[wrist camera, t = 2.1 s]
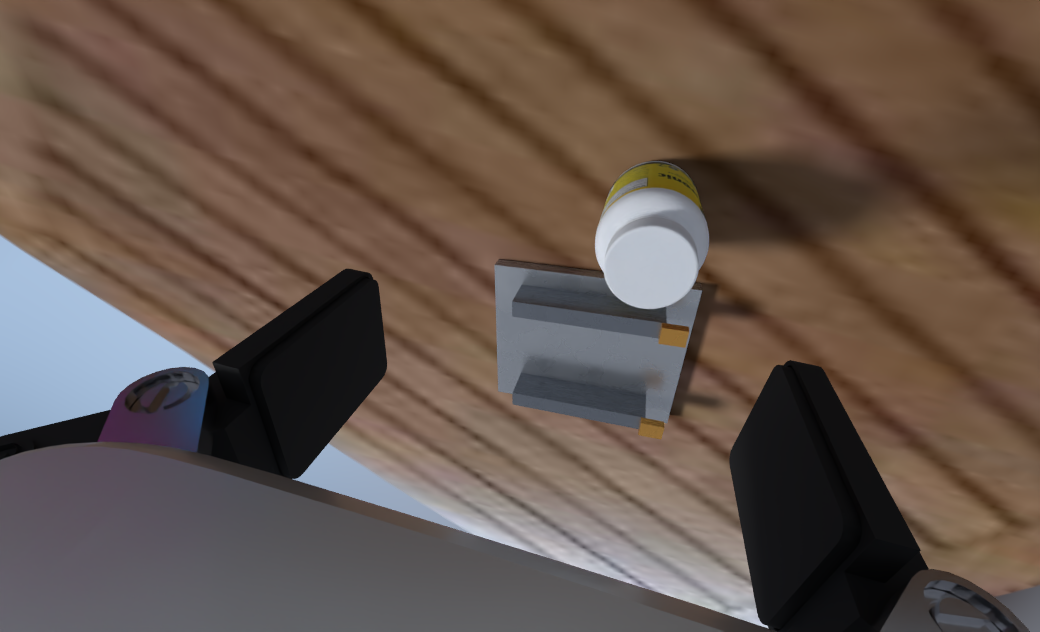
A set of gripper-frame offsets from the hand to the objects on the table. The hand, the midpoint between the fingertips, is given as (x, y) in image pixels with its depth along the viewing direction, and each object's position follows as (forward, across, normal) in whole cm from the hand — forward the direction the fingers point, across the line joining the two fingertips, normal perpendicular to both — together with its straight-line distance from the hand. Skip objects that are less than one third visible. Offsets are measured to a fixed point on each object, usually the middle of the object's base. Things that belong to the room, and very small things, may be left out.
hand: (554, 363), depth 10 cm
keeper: (+20, 0, +13) cm, 23 cm away
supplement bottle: (+20, -3, +1) cm, 20 cm away
